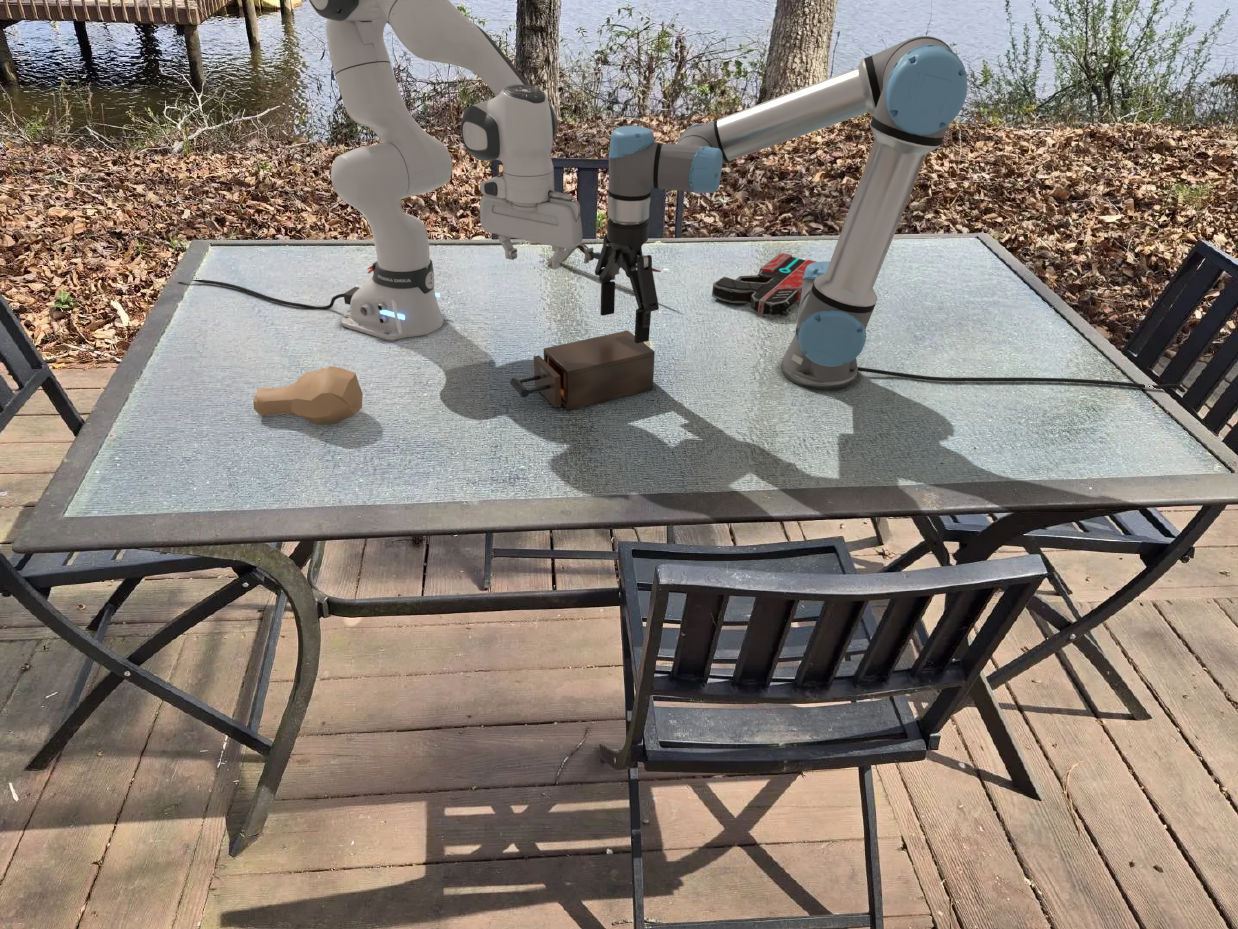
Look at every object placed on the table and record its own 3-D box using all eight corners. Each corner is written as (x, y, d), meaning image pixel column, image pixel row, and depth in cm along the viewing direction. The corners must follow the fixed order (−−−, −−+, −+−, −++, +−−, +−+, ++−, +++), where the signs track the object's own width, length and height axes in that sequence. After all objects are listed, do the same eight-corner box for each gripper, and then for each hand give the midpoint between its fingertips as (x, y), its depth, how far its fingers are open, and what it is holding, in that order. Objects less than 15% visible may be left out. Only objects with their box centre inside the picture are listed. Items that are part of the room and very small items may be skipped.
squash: (362, 431, 158) (346, 392, 151) (255, 439, 159) (235, 401, 153) (374, 393, 165) (360, 354, 159) (272, 401, 167) (254, 364, 161)
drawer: (526, 414, 162) (524, 384, 158) (506, 392, 169) (504, 362, 165) (636, 387, 172) (637, 358, 168) (613, 367, 179) (613, 338, 175)
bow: (662, 300, 209) (664, 260, 204) (657, 302, 208) (659, 262, 203) (550, 258, 231) (549, 220, 225) (545, 259, 230) (544, 222, 224)
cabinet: (568, 410, 166) (567, 371, 161) (544, 386, 173) (543, 348, 169) (652, 389, 173) (654, 351, 169) (626, 366, 181) (627, 330, 176)
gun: (708, 284, 207) (784, 305, 199) (760, 245, 229) (831, 262, 221) (706, 302, 209) (781, 323, 201) (758, 261, 231) (828, 278, 223)
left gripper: (589, 191, 151) (589, 268, 159) (493, 174, 160) (498, 248, 167) (569, 200, 147) (570, 279, 154) (472, 182, 155) (478, 258, 163)
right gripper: (683, 237, 150) (674, 349, 162) (613, 196, 168) (610, 300, 179) (645, 243, 147) (639, 357, 158) (578, 201, 165) (577, 306, 176)
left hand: (532, 263), depth 161 cm, fingers open, 8 cm apart
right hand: (623, 327), depth 169 cm, fingers open, 13 cm apart
